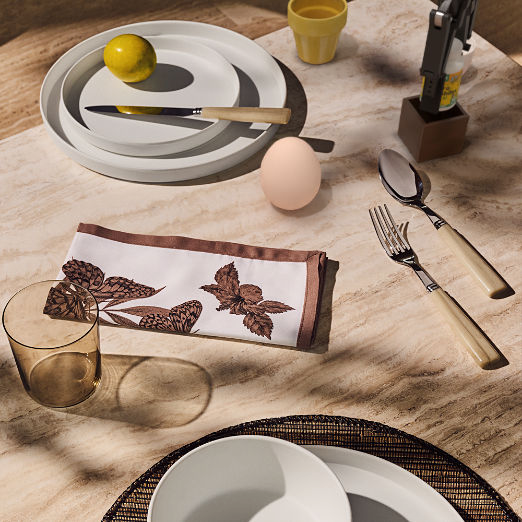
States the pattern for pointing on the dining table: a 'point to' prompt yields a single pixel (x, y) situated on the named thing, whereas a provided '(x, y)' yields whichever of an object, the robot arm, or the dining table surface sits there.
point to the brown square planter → (431, 130)
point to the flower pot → (317, 27)
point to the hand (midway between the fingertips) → (437, 99)
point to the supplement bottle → (451, 76)
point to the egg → (290, 173)
